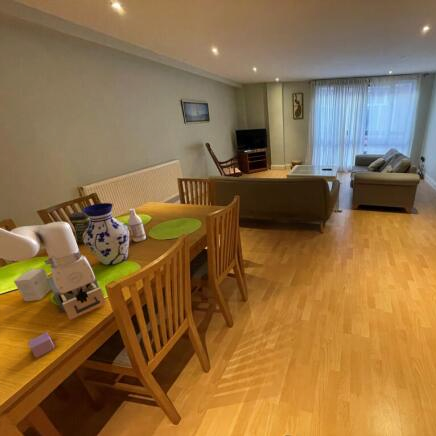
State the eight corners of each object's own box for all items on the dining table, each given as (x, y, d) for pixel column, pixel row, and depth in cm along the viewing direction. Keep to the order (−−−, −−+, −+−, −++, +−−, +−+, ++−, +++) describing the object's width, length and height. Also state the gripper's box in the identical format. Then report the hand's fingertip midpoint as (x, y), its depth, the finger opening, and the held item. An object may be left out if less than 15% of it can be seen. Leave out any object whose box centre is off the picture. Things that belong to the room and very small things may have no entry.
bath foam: (132, 238, 150) (124, 209, 142) (145, 235, 154) (137, 206, 146) (134, 243, 145) (125, 212, 137) (147, 239, 148) (139, 209, 141)
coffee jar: (76, 244, 144) (64, 215, 136) (83, 238, 151) (72, 210, 144) (94, 242, 146) (84, 214, 139) (100, 236, 153) (91, 209, 146)
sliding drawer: (110, 308, 94) (105, 293, 91) (73, 326, 85) (65, 310, 82) (95, 289, 104) (90, 275, 101) (61, 304, 96) (54, 289, 93)
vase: (107, 273, 116) (86, 216, 104) (84, 264, 123) (63, 210, 112) (143, 255, 132) (129, 203, 120) (122, 248, 139) (106, 199, 128)
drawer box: (101, 294, 102) (95, 277, 98) (63, 312, 93) (54, 293, 89) (91, 281, 110) (84, 265, 107) (54, 296, 101) (46, 278, 98)
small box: (39, 289, 105) (29, 269, 101) (54, 287, 106) (44, 268, 102) (24, 302, 98) (12, 281, 94) (40, 300, 99) (29, 279, 95)
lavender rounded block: (36, 358, 75) (30, 348, 73) (33, 350, 77) (28, 341, 76) (55, 348, 78) (49, 339, 76) (52, 341, 81) (46, 332, 79)
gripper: (37, 271, 74) (58, 317, 81) (96, 252, 85) (110, 294, 92) (33, 263, 78) (54, 307, 85) (90, 246, 89) (104, 286, 96)
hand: (83, 300), depth 88 cm, fingers closed
